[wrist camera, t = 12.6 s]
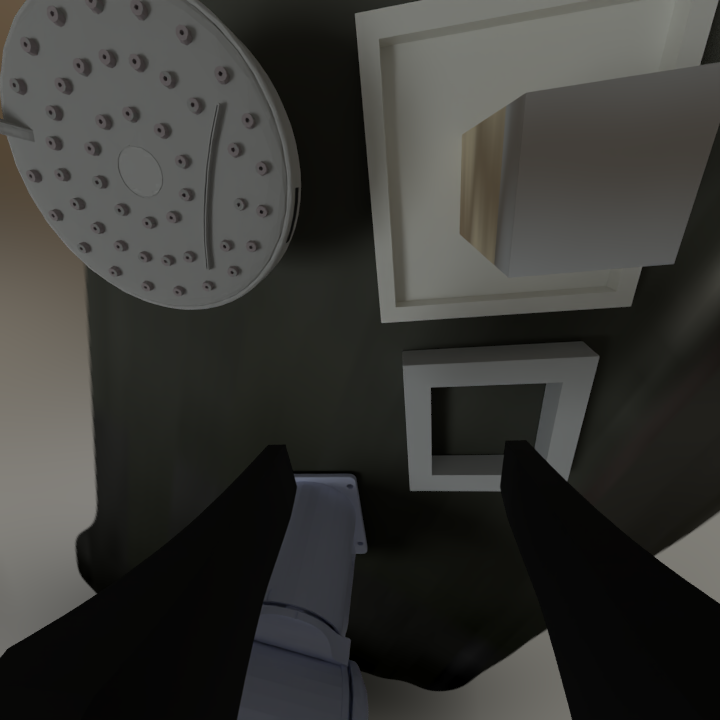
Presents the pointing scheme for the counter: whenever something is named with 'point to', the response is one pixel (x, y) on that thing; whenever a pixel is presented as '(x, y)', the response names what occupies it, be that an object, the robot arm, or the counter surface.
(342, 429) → the counter surface
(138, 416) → the counter surface
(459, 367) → the holder
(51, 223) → the showerhead
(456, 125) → the tray
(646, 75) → the peg
